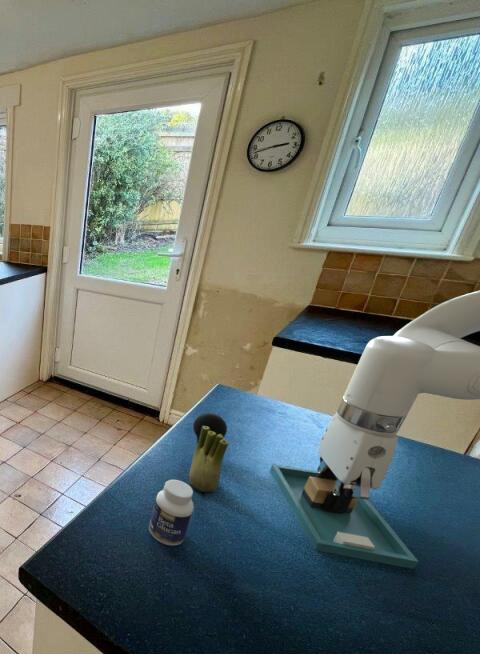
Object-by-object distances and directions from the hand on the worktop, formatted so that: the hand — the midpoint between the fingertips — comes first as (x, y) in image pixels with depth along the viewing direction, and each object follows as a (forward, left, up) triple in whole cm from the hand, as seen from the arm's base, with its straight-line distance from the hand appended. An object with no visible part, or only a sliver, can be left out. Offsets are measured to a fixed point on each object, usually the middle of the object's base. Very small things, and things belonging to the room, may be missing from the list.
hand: (326, 501), depth 73 cm
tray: (0, +2, -1) cm, 2 cm away
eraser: (0, 0, 0) cm, 0 cm away
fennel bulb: (+20, 0, -1) cm, 20 cm away
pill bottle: (+28, +14, -1) cm, 31 cm away
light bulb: (+18, -10, -1) cm, 20 cm away
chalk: (+1, +10, 0) cm, 10 cm away
